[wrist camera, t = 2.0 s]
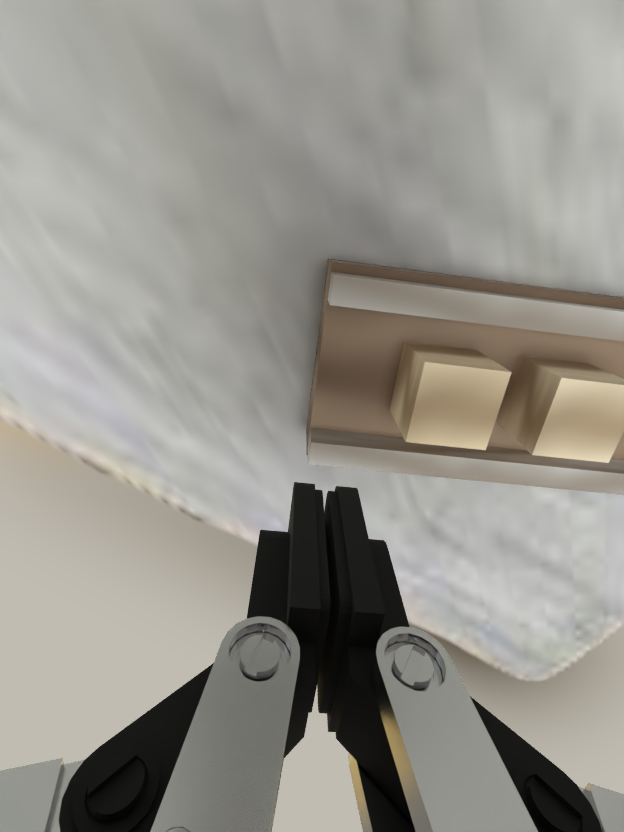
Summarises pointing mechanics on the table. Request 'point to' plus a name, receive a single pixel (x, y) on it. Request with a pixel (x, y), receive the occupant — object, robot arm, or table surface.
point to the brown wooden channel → (453, 327)
